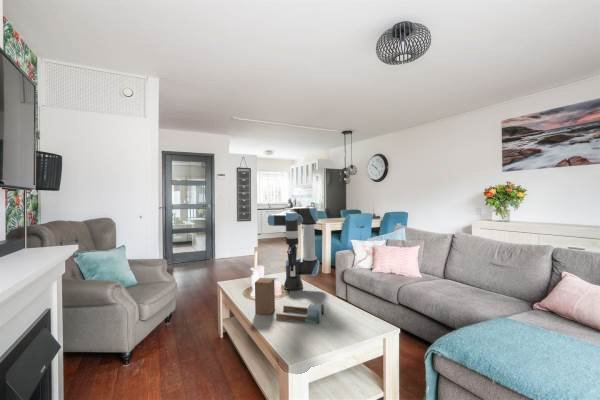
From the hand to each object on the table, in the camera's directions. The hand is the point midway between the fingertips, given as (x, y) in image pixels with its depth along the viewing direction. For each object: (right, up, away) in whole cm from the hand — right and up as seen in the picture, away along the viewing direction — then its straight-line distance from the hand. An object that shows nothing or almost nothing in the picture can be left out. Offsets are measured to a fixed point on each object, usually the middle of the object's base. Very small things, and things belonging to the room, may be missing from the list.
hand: (292, 275), depth 173 cm
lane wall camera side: (+3, -24, -7) cm, 26 cm away
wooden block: (-18, -25, +7) cm, 31 cm away
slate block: (+13, -24, -4) cm, 28 cm away
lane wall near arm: (+7, -24, +5) cm, 25 cm away
